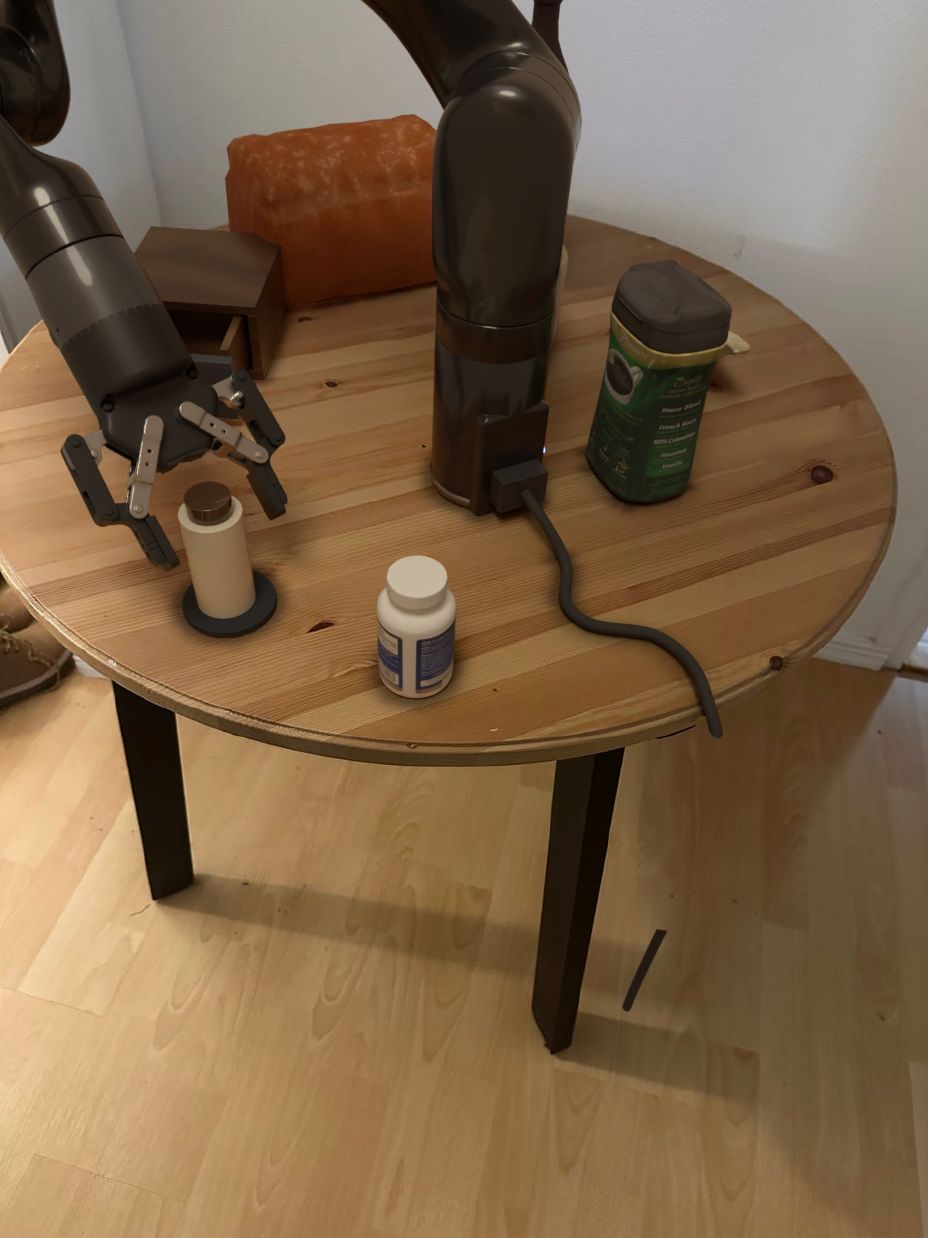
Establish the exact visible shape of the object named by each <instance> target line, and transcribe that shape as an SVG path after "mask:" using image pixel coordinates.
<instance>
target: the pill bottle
mask: <svg viewBox="0 0 928 1238" xmlns="http://www.w3.org/2000/svg"><path fill="white" fill-rule="evenodd" d="M385 581H386V584H385V587H384V588H383V589H382V590H381V592H380V594H379V596H378V598H377V601H376V634H377V635H376V636H377V662H378V673H379V677H380V680H381V681H382V683H383V685H384V686H385V687H386V688H387V689H388V690H390V691H391V692H392V693H393V694H396V695H398V696H401V697H405V698H410V699H423V698H428V697H430V696H431V697H432V696H434V695H436V694H438V693H439V692H441V691H442V690H444V689H445V688H446V687H447V685H448V683H449V682H450V680H451V678H452V675H453V668H454V658H455V657H454V656H455V655H454V653H455V637H456V623H457V622H456V621H457V601H456V598H455V596H454V594H453V592H452V591H451V590H450V588H449V587H448V572H447V570H446V568H445V567H444V565H443V564H442V563H441V562H439V561H438V560H437V559H435V558H432V557H429V556H425V555H408V556H404V557H401V558H400V559H399V558H398V559H397V560H396V561H395V562H393V563H392V564H391V565H390V567H389V568H388V570H387V572H386V580H385Z"/></svg>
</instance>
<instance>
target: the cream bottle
mask: <svg viewBox="0 0 928 1238" xmlns="http://www.w3.org/2000/svg"><path fill="white" fill-rule="evenodd" d="M182 500H183V503H182V504H181V505H180V507H179V509H178V511H177V520H178V525H179V528H180V532H181V533H180V534H181V537H182V542H183V547H184V551H185V556H186V560H187V564H188V569H189V573H190V578H191V582H192V583H193V587H194V592H195V596H196V601H197V605H198V607H199V609H200V610H201V611H202V612H203V613H204V614H206V615H208V616H210V617H213V618H218V619H228V618H233V617H237V616H239V615H242V614H243V613H245V612H247V611H248V610H249V609H250V608H251V607H252V606H253V604H254V602H255V599H256V591H255V584H254V578H253V572H252V570H253V567H252V561H251V553H250V546H249V541H248V535H247V528H246V523H245V522H246V521H245V515H244V509H243V505H242V503H241V502H240V500H238V498H236V497H235V496H234V495H232V492H231V489H230V488H229V486H227V485H226V484H224V483H221V482H218V481H212V480H211V481H208V480H207V481H202V482H198V483H195V484H194V485H192V486H190V487H188V489H186V490H185V493H184V494H183V499H182ZM192 583H191V584H192Z"/></svg>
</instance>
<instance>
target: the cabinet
mask: <svg viewBox="0 0 928 1238" xmlns="http://www.w3.org/2000/svg"><path fill="white" fill-rule="evenodd" d="M145 233H146V234H145V235H144V236H143V238H142V240H141V241H140V242H139V244H138V246H137V248H136V249H135V251H134V252H133V253H134V254H135V256H136V257H137V259H138V260H139V261H140V263H141V264H142V266H143V267H144V269H145V270H146V272H147V274H148V276H149V277H150V279H151V281H152V283H153V285H154V287H155V289H156V291H157V293H158V294H159V296H160V298H161V300H162V302H163V304H164V306H165V308H166V309H171V310H186V311H200V312H214V313H228V314H242V315H247V320H248V328H249V336H250V344H251V352H252V358H251V361H250V363H249V366H248V369H247V372H248V373H249V374H250V376H251V378H252V379H253V380H261V381H263V380H264V381H265V378H266V374H267V372H268V369H269V366H270V364H271V361H272V358H273V355H274V353H275V350H276V347H277V344H278V341H279V338H280V335H281V333H282V330H283V327H284V324H285V321H286V319H287V316H288V313H289V310H290V308H287V305H286V301H285V294H284V282H283V269H282V257H281V244H276V243H272V242H269V241H266V240H264V239H263V238H261V237H260V236H259V235H258V234H255V233H241V232H230V231H225V230H210V229H200V228H199V229H198V228H186V227H185V228H183V227H170V226H169V227H168V226H158V225H157V226H154V225H151V226H150V227H149V229H148V230H147V232H145Z"/></svg>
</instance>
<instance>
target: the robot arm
mask: <svg viewBox="0 0 928 1238" xmlns="http://www.w3.org/2000/svg"><path fill="white" fill-rule="evenodd" d="M360 1H361V2H362V3H363V4H364V5H365V6H367V8H369V9H370V10H371V11H372V12H373V13H374V14H375V15H377V17H379V19H380V20H381V21H382V22H383V23H384V24H385V25H386V26H387V27H388V28H389V30H390V31H391V32H392V34H394V35H395V37H396V38H397V39H398V41H399V42H400V43H401V45H402V46H403V48H404V49H405V50H406V52H407V53H408V55H409V56H410V58H411V59H412V60H413V62H414V64H415V65H416V67H417V69H418V70H419V72H420V73H421V75H422V77H423V78H424V80H425V81H426V83H427V85H428V86H429V87H430V89H431V91H432V93H433V94H434V96H435V97H436V99H437V101H438V103H439V104H440V105H439V106H440V107H441V108H442V110H443V112H442V114H441V116H440V119H439V121H438V124H437V127H436V130H437V131H436V135H435V142H434V150H433V165H432V260H433V266H434V270H435V272H436V276H437V281H436V300H435V331H434V359H433V360H434V365H433V392H432V393H433V396H432V431H431V433H432V434H431V443H432V444H431V460H430V464H429V465H430V466H429V469H430V470H429V476H430V481H431V483H432V486H433V487H434V488H435V490H436V491H437V492H438V493H439V494H440V495H441V496H443V498H445V499H447V500H448V501H451V502H453V503H454V504H457V505H459V506H462V507H466V508H468V509H470V510H471V511H472V512H473V514H474V515H476V516H479V515H483V514H486V513H490V512H493V511H498V513H499V514H503V513H506V512H509V511H513V510H516V509H519V508H522V507H526V508H527V509H528V510H529V512H530V513H531V514H532V516H533V518H535V520H536V521H537V523H538V525H539V527H540V528H541V529H542V531H543V533H544V535H545V536H546V538H547V540H548V541H549V543H550V545H551V547H552V549H553V551H554V552H555V555H556V557H557V561H558V563H559V568H560V582H559V589H558V590H559V591H558V600H559V604H560V607H561V609H562V610H563V611H564V613H565V615H566V616H567V617H568V618H569V619H570V620H571V621H573V622H574V623H575V624H577V625H578V626H580V627H582V628H584V629H585V630H588V631H592V632H595V633H599V634H605V635H612V636H613V635H614V636H623V637H633V638H639V639H644V640H648V641H651V642H653V643H655V644H658V645H659V646H661V647H663V648H664V649H666V650H667V651H668V652H669V653H671V654H672V655H673V656H674V657H675V658H677V659H678V660H679V662H681V663H682V664H683V666H685V668H686V669H687V671H688V672H689V674H690V676H691V678H692V680H693V683H694V685H695V687H696V690H697V693H698V696H699V700H700V703H701V706H702V707H701V708H702V711H703V713H704V717H705V721H706V724H707V728H708V732H709V733H710V735H711V736H712V737H714V738H715V739H721V738H722V737H723V736H724V732H723V727H722V723H721V717H720V715H719V711H718V707H717V704H716V701H715V697H714V694H713V691H712V688H711V685H710V683H709V680H708V678H707V676H706V674H705V672H704V670H703V668H702V666H701V665H700V663H699V662H698V660H697V659H696V658H695V657H694V656H693V654H692V653H691V652H690V651H689V650H688V649H687V648H686V647H685V646H684V645H682V644H681V643H680V642H679V641H677V640H676V639H674V638H673V637H671V636H670V635H668V634H667V633H665V632H663V631H660V630H658V629H656V628H653V627H649V626H645V625H639V624H633V623H623V622H612V621H604V620H600V619H596V618H593V617H590V616H589V615H586V614H585V613H583V612H582V611H581V610H579V609H578V608H577V607H576V606H575V604H574V603H573V601H572V594H571V591H572V584H573V564H572V561H571V557H570V555H569V553H568V550H567V547H566V545H565V543H564V542H563V540H562V538H561V536H560V534H559V533H558V531H557V529H556V528H555V526H554V524H553V523H552V521H551V520H550V518H549V516H548V515H547V514H546V512H545V511H544V509H543V508H542V506H541V505H540V503H539V502H542V501H545V500H546V492H547V486H548V478H549V470H548V469H547V468H546V467H545V466H544V465H543V458H544V453H545V452H546V447H545V444H546V436H547V430H548V423H549V414H550V406H549V404H548V403H547V402H546V393H547V386H548V385H547V384H548V377H549V371H550V363H551V356H552V355H551V354H552V347H553V346H552V345H553V341H552V339H553V333H554V325H555V318H556V310H557V302H558V295H559V287H560V281H561V257H562V249H563V245H564V240H565V233H566V225H567V217H568V210H569V209H568V208H569V201H570V193H571V185H572V179H573V171H574V164H575V160H576V156H577V153H578V148H579V145H580V141H581V136H582V126H583V116H582V106H581V101H580V98H579V95H578V91H577V88H576V86H575V83H574V82H573V80H572V77H571V76H570V73H569V74H568V73H567V71H566V70H565V68H564V67H563V65H562V64H561V63H560V61H559V60H558V59H557V57H556V56H555V55H554V54H553V52H552V51H551V50H550V48H549V47H548V46H547V45H546V43H545V42H544V41H543V40H542V38H541V37H540V36H539V34H538V33H537V32H536V31H535V29H534V28H533V27H532V26H531V24H532V23H531V22H529V20H528V19H527V18H526V17H525V15H524V14H523V13H522V11H521V10H520V9H519V7H518V6H517V5H516V4H515V2H514V1H513V0H360ZM64 47H65V46H64V43H63V39H62V34H61V30H60V26H59V20H58V16H57V10H56V5H55V0H0V236H1V238H2V240H3V242H4V244H5V246H6V248H7V250H8V252H9V253H10V255H11V257H12V258H13V260H14V263H15V264H16V266H17V268H18V270H19V272H20V273H21V275H22V277H23V278H24V280H25V282H26V284H27V287H28V288H29V290H30V292H31V295H32V297H33V300H34V302H35V306H36V308H37V310H38V313H39V315H40V317H41V319H42V321H43V324H44V325H45V327H46V329H47V331H48V335H49V337H50V340H51V342H52V343H53V344H54V346H55V347H56V348H57V349H58V351H59V352H60V354H61V356H62V357H63V359H64V361H65V363H66V364H67V365H66V366H68V368H69V370H70V372H71V374H72V376H73V377H74V379H75V381H76V383H77V385H78V386H79V388H80V390H81V392H82V393H83V394H82V395H83V396H84V397H85V399H86V401H87V402H88V404H89V406H90V408H91V410H92V412H93V413H94V415H95V417H96V419H97V422H98V430H96V431H92V432H90V433H87V434H83V435H80V434H79V433H72V434H69V435H67V437H66V439H65V440H64V442H63V444H62V446H60V455H61V457H62V460H63V462H64V464H65V466H66V468H67V470H68V472H69V474H70V476H71V478H72V481H73V483H74V484H75V486H76V488H77V490H78V493H79V494H80V496H81V498H82V500H83V503H84V505H85V507H86V509H87V512H88V513H89V515H90V517H91V519H92V521H93V523H94V524H95V525H96V526H97V527H99V528H107V527H108V526H118V525H121V526H125V527H127V528H129V530H130V531H131V532H132V534H133V536H134V538H135V539H136V540H137V543H138V545H139V547H140V548H141V550H142V552H143V553H144V555H145V557H146V559H147V560H148V562H149V563H150V564H151V565H152V566H153V567H154V568H157V567H159V566H161V568H162V569H163V571H164V572H166V573H168V572H170V571H171V570H173V569H176V568H178V567H180V566H181V560H180V558H179V556H178V554H177V552H176V551H175V549H174V547H173V545H172V543H171V541H170V539H169V538H168V536H167V534H166V532H165V530H164V528H163V527H162V526H161V523H160V521H159V519H158V518H157V516H156V514H152V515H151V514H150V513H149V510H150V504H151V503H150V502H151V497H152V496H151V495H152V491H153V487H154V483H155V479H156V474H161V475H164V474H167V473H168V472H169V473H170V472H171V471H173V470H174V469H175V468H176V467H177V466H178V465H181V464H183V463H190V462H194V461H196V460H198V459H201V458H202V457H203V456H205V455H206V454H207V453H208V452H209V453H210V454H212V455H214V456H216V457H218V458H221V459H226V460H228V461H230V462H232V463H234V464H236V465H237V466H239V467H241V468H242V469H244V470H247V472H248V473H247V474H246V475H245V478H246V480H247V482H248V484H249V486H250V487H251V489H252V491H253V493H254V494H255V497H256V499H257V500H258V502H259V504H260V506H261V508H262V510H263V512H264V514H265V515H266V517H267V519H268V520H269V521H275V520H276V519H278V518H280V517H282V516H284V515H286V514H287V508H286V505H287V504H289V501H288V495H287V493H286V492H285V489H284V487H283V486H282V484H281V482H280V479H279V478H278V476H277V474H276V473H275V470H274V467H273V466H272V464H271V458H272V456H273V454H275V452H276V451H277V450H278V449H279V448H280V447H281V446H282V445H284V444H285V443H286V434H285V432H284V431H283V429H282V427H281V426H280V424H279V422H278V420H277V418H276V416H275V415H274V414H273V412H272V410H271V408H270V406H269V405H268V404H267V401H266V399H265V398H264V396H263V395H262V393H261V392H260V390H259V388H258V386H257V384H256V383H255V381H254V379H252V378H251V376H250V374H249V373H248V372H247V371H246V370H244V369H238V370H236V371H235V372H234V373H233V374H232V375H231V376H230V377H229V378H227V379H225V380H223V381H220V382H218V383H216V384H214V385H212V386H211V385H210V384H208V383H207V382H206V381H205V380H204V379H203V378H202V377H201V376H200V374H199V372H198V370H197V368H196V365H195V363H194V361H193V359H192V357H191V355H190V353H189V351H188V349H187V347H186V346H185V344H184V342H183V340H182V338H181V336H180V334H179V332H178V330H177V329H176V327H175V325H174V323H173V321H172V319H171V317H170V315H169V313H168V311H167V310H166V308H165V306H164V304H163V302H162V300H161V298H160V296H159V294H158V293H157V291H156V289H155V287H154V285H153V283H152V281H151V279H150V277H149V276H148V274H147V272H146V270H145V269H144V267H143V266H142V264H141V263H140V261H139V260H138V259H137V257H136V256H135V254H134V252H133V250H132V249H131V247H130V245H129V243H128V242H127V240H126V239H125V237H124V234H123V233H122V231H121V229H120V227H119V225H118V222H116V220H115V217H114V216H113V214H112V212H111V210H110V208H109V206H108V204H107V202H106V199H105V198H104V196H103V195H102V193H101V191H100V189H99V188H98V185H97V183H96V182H95V181H94V180H93V178H92V176H91V175H90V174H89V172H88V171H87V170H86V169H85V168H84V167H82V166H81V165H79V164H78V163H75V161H74V162H73V161H71V160H68V159H65V158H63V157H58V156H54V155H51V154H48V153H45V152H42V151H40V150H38V149H36V148H37V147H42V146H46V145H49V144H50V143H51V142H53V141H54V140H55V139H56V138H57V137H58V136H59V134H60V133H61V131H62V130H63V128H64V126H65V123H66V120H67V119H68V115H69V110H70V107H71V99H72V90H71V89H72V88H71V77H70V71H69V65H68V61H67V56H66V52H65V48H64ZM553 340H554V339H553ZM219 400H220V401H223V402H224V403H225V404H226V405H227V406H228V407H229V408H231V409H236V410H237V411H238V413H239V415H240V418H241V420H242V422H243V424H244V425H245V426H246V428H247V429H248V432H249V433H250V435H251V437H252V438H253V440H251V439H249V438H248V437H246V436H244V435H243V433H242V432H241V430H239V429H237V428H235V427H233V426H231V425H230V424H228V423H227V422H225V421H223V420H222V419H220V418H217V410H218V402H219ZM103 447H105V448H106V449H108V450H109V451H111V452H113V453H115V454H117V455H118V456H120V457H122V458H124V459H126V460H127V461H129V462H128V470H127V475H126V480H125V481H126V482H125V495H124V502H115V500H114V498H113V496H112V494H111V492H110V490H109V487H108V486H107V483H106V481H105V479H104V477H103V475H102V473H101V471H100V469H99V467H98V466H99V465H100V464H101V463H102V461H103V453H102V448H103ZM667 933H668V930H666V929H659V928H658V929H655V931H654V933H653V935H652V937H651V939H650V942H649V944H648V945H647V948H646V950H645V952H644V953H643V956H642V959H641V961H640V963H639V965H638V967H637V969H636V971H635V974H634V977H633V978H632V981H631V983H630V985H629V988H628V989H627V993H626V995H625V997H624V1000H623V1003H622V1006H621V1008H622V1010H623V1011H624V1012H630V1011H631V1010H632V1008H633V1005H634V1002H635V1000H636V998H637V996H638V993H639V991H640V989H641V986H642V984H643V982H644V980H645V977H646V976H647V974H648V971H649V970H650V967H651V965H652V963H653V962H654V959H655V957H656V955H657V953H658V951H659V949H660V947H661V945H662V944H663V941H664V939H665V937H666V935H667Z"/></svg>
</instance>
